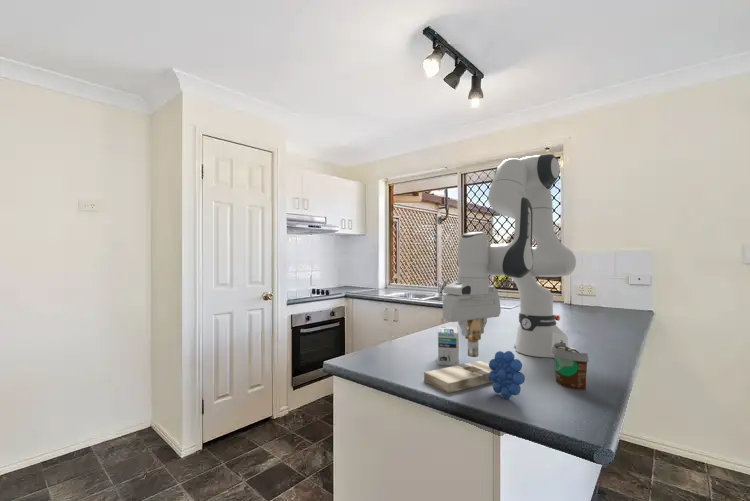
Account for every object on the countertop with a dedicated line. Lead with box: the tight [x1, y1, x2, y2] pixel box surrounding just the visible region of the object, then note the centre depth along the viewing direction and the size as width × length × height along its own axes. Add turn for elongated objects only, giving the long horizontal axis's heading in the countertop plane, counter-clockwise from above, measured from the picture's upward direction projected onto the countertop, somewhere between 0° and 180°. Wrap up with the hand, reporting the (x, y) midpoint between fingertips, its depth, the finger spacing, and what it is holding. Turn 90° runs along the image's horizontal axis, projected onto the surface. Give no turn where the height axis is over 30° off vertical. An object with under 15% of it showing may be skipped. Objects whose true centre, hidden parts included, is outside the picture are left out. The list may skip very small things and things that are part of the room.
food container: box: [551, 343, 589, 391], centre depth 98 cm, size 12×6×10 cm, turn 178°
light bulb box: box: [437, 325, 460, 367], centre depth 118 cm, size 11×7×11 cm, turn 168°
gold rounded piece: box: [464, 318, 482, 358], centre depth 102 cm, size 4×4×11 cm
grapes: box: [488, 350, 526, 399], centre depth 88 cm, size 12×7×12 cm, turn 22°
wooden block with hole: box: [423, 360, 493, 394], centre depth 100 cm, size 22×10×3 cm, turn 120°
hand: (472, 334), depth 102 cm, fingers closed on gold rounded piece, 4 cm apart
